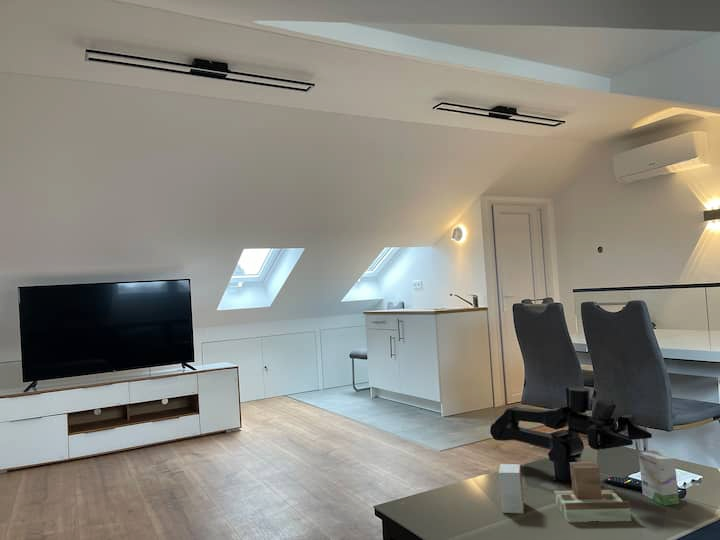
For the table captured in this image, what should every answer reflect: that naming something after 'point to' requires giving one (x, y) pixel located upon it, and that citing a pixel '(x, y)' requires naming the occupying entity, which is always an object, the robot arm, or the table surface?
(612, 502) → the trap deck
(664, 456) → the ink box
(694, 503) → the table surface
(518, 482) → the small box
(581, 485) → the walnut block
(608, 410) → the robot arm
